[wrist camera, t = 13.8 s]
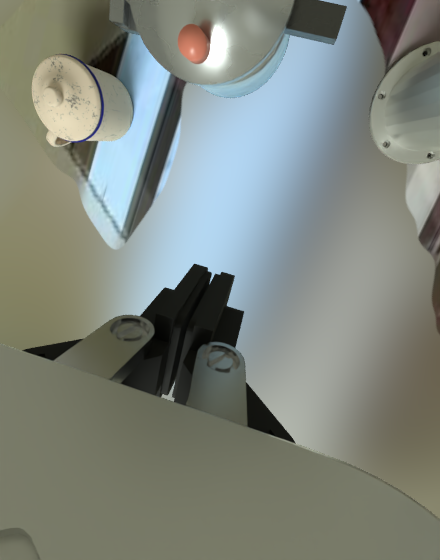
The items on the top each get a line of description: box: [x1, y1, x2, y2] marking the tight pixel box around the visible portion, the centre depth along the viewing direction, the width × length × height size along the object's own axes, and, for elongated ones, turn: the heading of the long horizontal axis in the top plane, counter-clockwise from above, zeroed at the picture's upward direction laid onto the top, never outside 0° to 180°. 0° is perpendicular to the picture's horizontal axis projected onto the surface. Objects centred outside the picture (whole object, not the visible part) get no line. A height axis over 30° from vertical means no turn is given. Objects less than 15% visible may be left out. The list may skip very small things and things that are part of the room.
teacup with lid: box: [32, 54, 133, 147], centre depth 38 cm, size 12×9×12 cm
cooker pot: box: [109, 0, 347, 98], centre depth 31 cm, size 21×14×12 cm, turn 77°
